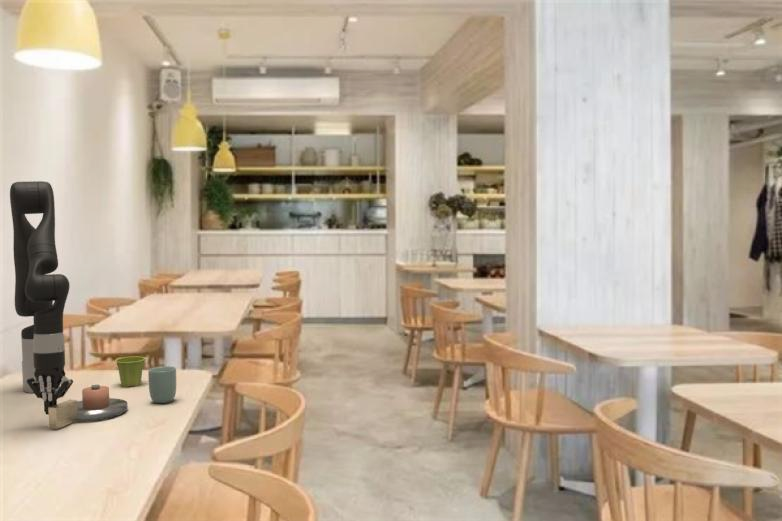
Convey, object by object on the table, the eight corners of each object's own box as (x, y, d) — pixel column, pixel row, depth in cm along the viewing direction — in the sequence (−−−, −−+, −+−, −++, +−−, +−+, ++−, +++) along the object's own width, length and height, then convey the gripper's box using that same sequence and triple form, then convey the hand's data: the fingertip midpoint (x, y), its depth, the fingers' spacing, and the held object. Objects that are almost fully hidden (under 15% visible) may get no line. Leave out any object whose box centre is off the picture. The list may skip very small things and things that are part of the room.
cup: (168, 405, 207) (167, 372, 206) (144, 404, 208) (143, 371, 208) (181, 399, 214) (180, 366, 214) (158, 398, 216) (157, 365, 215)
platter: (24, 426, 186) (23, 405, 185) (87, 401, 210) (87, 383, 210) (82, 430, 181) (81, 409, 181) (140, 405, 205) (139, 386, 205)
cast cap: (77, 409, 196) (76, 387, 196) (93, 402, 203) (92, 382, 203) (98, 410, 195) (98, 389, 194) (114, 403, 201) (114, 383, 201)
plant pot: (152, 383, 235) (151, 357, 235) (131, 389, 227) (130, 363, 226) (131, 380, 239) (130, 355, 239) (109, 386, 231) (108, 360, 230)
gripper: (17, 351, 184) (19, 416, 185) (61, 353, 181) (62, 419, 182) (37, 346, 192) (39, 409, 193) (80, 348, 189) (81, 411, 190)
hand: (50, 413), depth 187 cm, fingers closed
